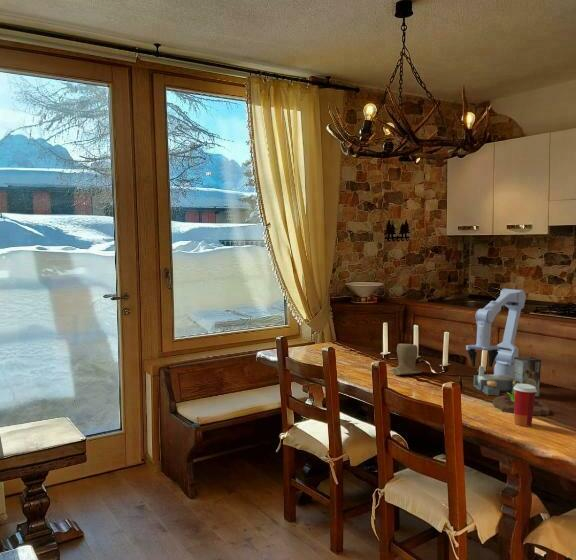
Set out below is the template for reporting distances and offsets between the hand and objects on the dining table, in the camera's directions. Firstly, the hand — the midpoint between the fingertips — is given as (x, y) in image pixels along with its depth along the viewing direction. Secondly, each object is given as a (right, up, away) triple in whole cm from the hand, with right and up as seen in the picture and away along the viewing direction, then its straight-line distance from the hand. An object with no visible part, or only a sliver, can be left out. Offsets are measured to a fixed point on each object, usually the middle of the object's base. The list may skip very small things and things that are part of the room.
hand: (481, 366), depth 250 cm
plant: (+5, -13, -27) cm, 31 cm away
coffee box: (+16, -12, -7) cm, 21 cm away
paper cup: (-2, -14, -48) cm, 50 cm away
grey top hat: (-29, -8, +25) cm, 39 cm away
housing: (+6, -11, -2) cm, 12 cm away
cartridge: (+6, -9, +1) cm, 11 cm away
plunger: (+1, -10, -8) cm, 13 cm away
